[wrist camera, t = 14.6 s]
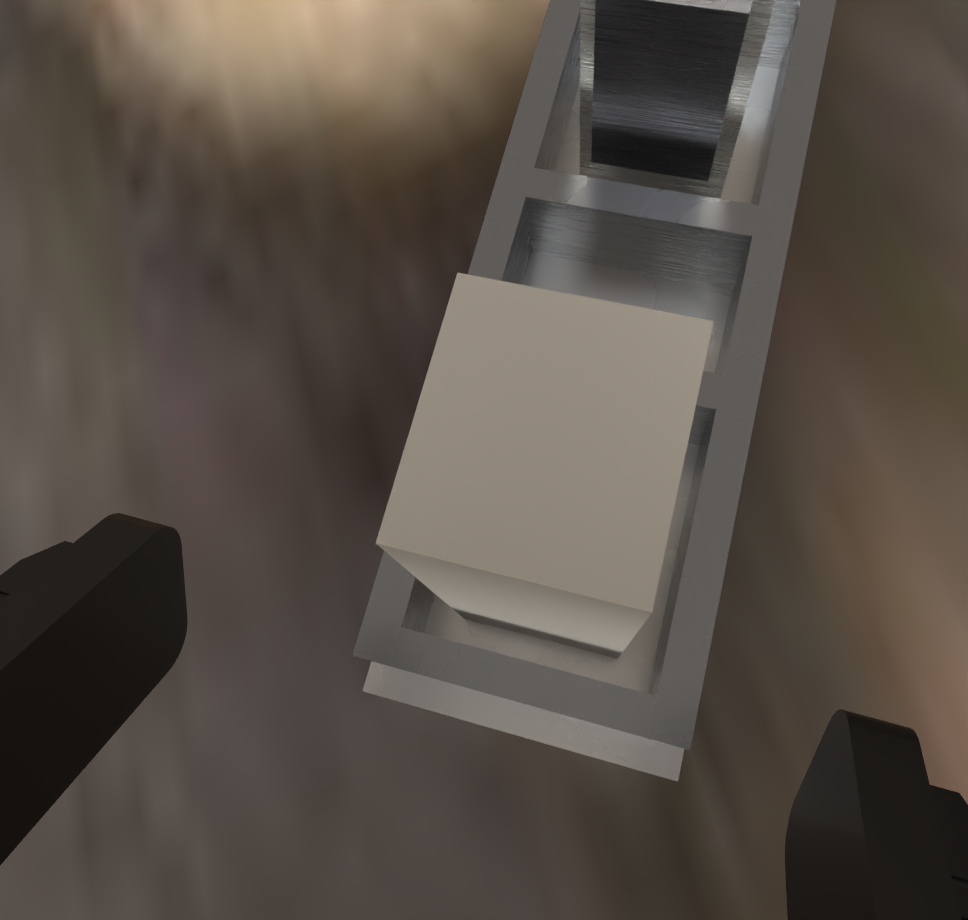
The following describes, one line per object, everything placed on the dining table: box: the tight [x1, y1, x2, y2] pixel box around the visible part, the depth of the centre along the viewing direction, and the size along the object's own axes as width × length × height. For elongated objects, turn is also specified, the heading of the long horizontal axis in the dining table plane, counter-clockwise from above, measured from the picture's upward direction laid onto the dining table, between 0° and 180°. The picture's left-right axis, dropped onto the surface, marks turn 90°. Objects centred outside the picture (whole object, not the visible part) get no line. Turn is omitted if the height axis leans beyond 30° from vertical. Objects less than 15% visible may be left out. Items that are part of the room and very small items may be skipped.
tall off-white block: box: [376, 273, 714, 659], centre depth 16 cm, size 4×4×9 cm
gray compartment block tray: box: [352, 0, 836, 781], centre depth 18 cm, size 20×7×10 cm, turn 165°
